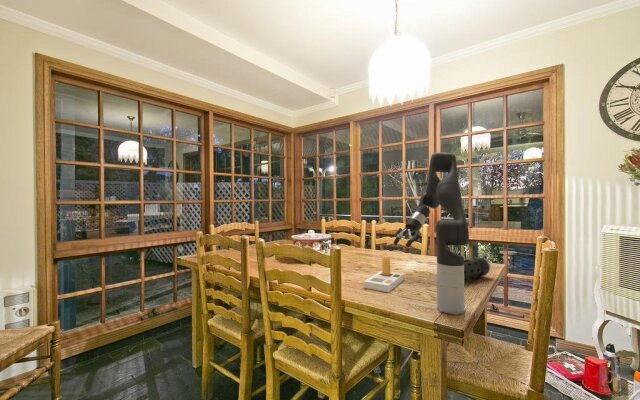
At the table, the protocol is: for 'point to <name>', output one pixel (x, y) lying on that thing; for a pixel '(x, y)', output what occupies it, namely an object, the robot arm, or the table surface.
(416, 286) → the table surface
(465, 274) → the muzzle brake
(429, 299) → the table surface
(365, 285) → the socket plate
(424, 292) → the table surface
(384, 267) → the plug
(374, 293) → the table surface
